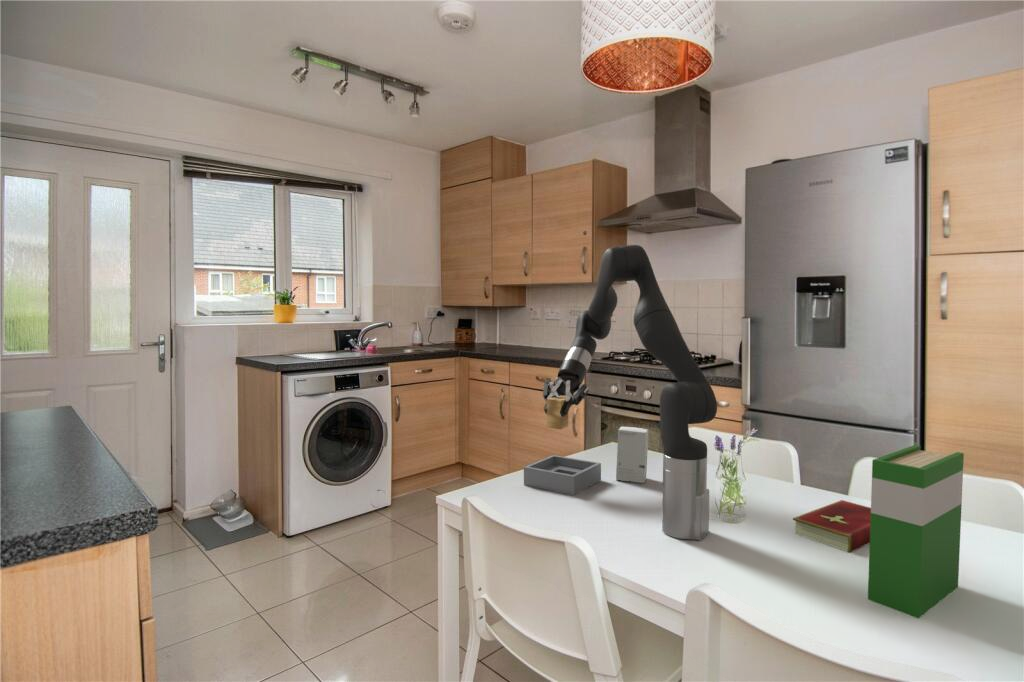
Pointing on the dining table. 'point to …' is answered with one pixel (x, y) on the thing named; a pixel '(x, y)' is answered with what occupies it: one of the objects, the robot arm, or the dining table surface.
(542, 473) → the walled box
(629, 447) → the skincare box
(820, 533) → the hardcover book
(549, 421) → the block
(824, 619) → the dining table surface
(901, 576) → the hardback book
